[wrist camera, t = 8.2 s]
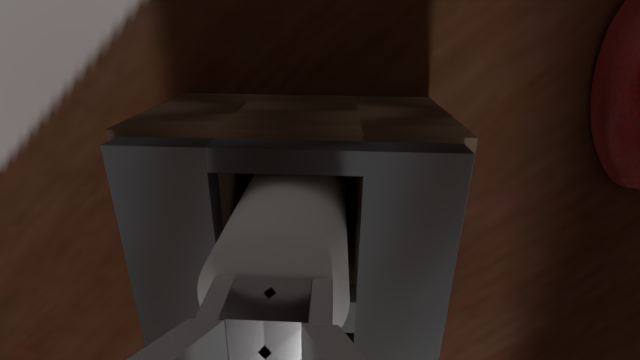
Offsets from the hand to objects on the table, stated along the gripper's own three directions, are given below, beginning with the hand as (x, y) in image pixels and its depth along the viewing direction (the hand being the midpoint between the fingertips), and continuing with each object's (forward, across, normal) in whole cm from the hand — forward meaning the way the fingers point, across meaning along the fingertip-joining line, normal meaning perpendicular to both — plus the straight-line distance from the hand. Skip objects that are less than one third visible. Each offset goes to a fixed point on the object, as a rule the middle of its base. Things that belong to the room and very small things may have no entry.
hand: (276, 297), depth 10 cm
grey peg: (+8, 0, 0) cm, 8 cm away
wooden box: (+11, 0, +3) cm, 11 cm away
